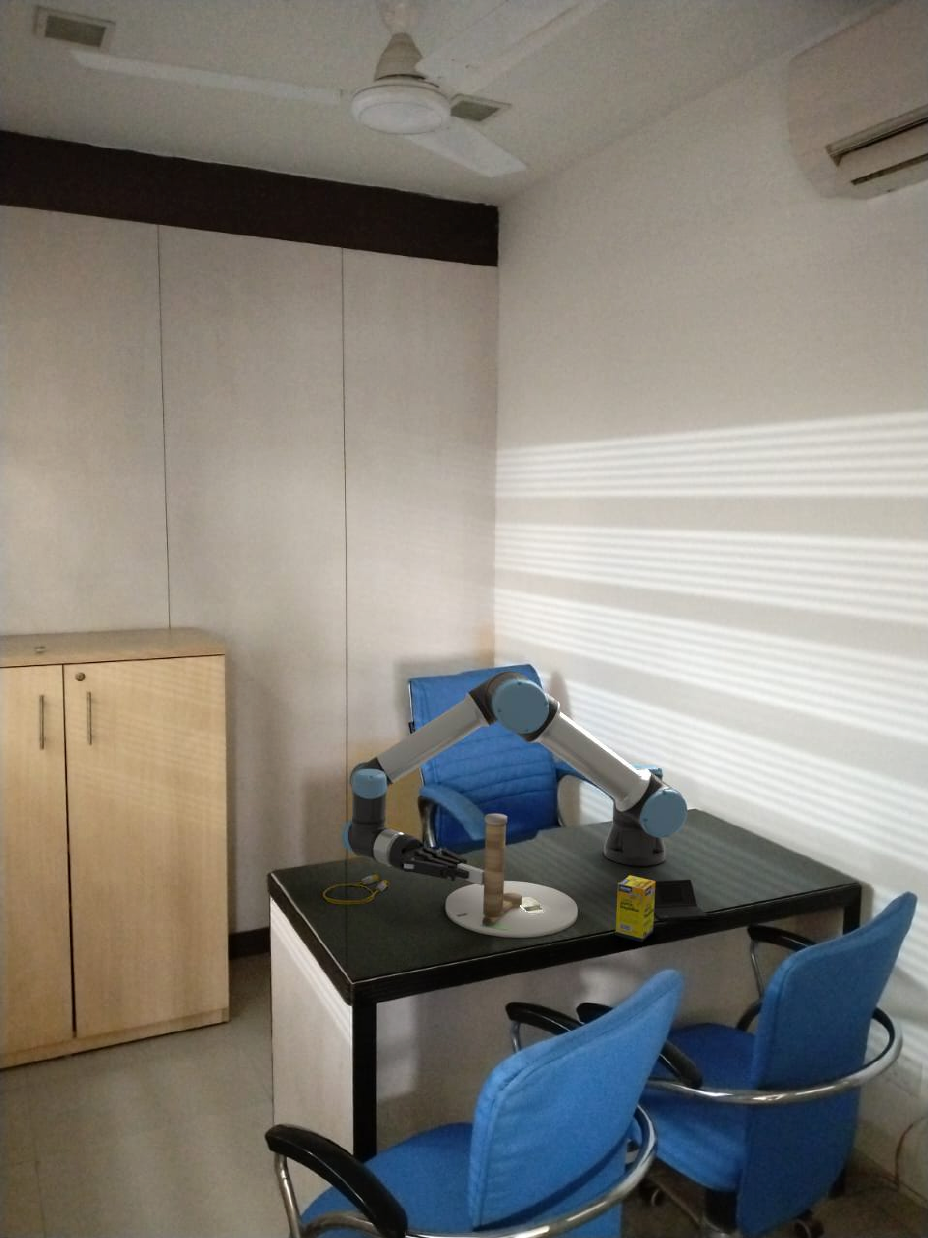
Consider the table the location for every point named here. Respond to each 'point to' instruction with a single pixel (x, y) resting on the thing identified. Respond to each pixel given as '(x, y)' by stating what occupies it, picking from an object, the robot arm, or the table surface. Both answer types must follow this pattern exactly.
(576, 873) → the table surface
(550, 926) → the dial plate
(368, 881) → the extension cord
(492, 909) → the lever
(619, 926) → the supplement box
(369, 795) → the robot arm
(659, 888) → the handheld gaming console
